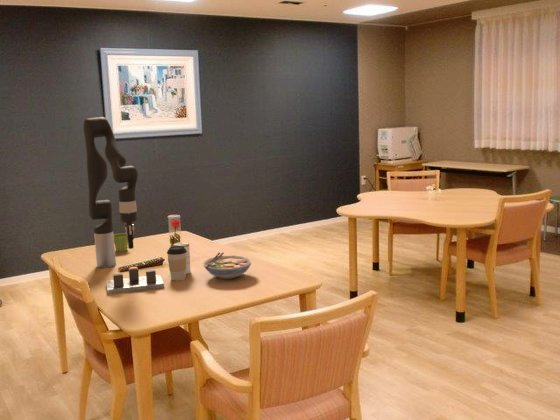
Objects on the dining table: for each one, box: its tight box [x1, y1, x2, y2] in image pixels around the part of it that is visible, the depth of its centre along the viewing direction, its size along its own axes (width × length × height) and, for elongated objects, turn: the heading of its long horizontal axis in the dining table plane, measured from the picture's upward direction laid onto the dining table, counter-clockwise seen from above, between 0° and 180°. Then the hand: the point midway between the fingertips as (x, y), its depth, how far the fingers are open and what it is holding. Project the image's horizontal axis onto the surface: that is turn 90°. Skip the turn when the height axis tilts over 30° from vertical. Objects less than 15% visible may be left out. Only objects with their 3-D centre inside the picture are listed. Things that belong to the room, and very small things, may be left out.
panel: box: [106, 274, 165, 296], centre depth 263 cm, size 14×24×2 cm, turn 108°
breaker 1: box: [112, 272, 124, 287], centre depth 258 cm, size 2×4×5 cm, turn 108°
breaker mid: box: [128, 266, 140, 281], centre depth 265 cm, size 2×4×6 cm, turn 108°
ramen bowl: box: [202, 252, 253, 280], centre depth 273 cm, size 25×23×8 cm
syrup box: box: [172, 241, 192, 275], centre depth 280 cm, size 6×6×14 cm
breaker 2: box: [145, 269, 157, 283], centre depth 262 cm, size 2×4×5 cm, turn 108°
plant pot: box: [113, 232, 129, 253], centre depth 327 cm, size 9×9×9 cm
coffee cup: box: [166, 245, 187, 281], centre depth 273 cm, size 9×9×15 cm
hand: (131, 248), depth 268 cm, fingers closed
